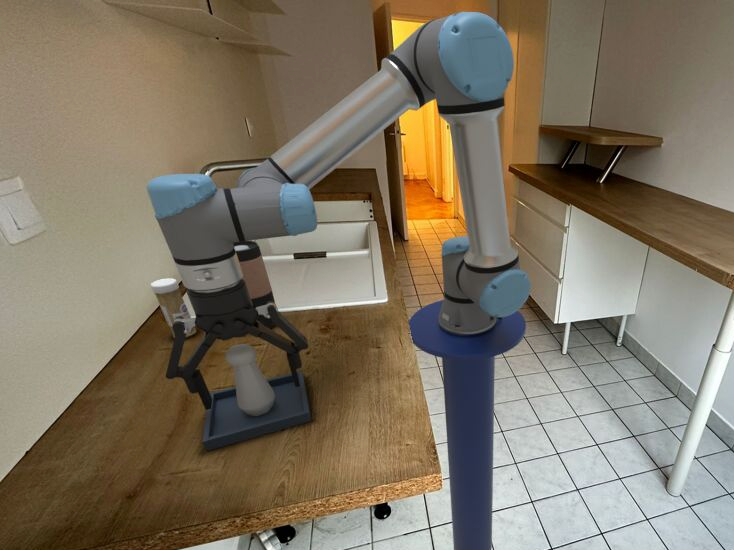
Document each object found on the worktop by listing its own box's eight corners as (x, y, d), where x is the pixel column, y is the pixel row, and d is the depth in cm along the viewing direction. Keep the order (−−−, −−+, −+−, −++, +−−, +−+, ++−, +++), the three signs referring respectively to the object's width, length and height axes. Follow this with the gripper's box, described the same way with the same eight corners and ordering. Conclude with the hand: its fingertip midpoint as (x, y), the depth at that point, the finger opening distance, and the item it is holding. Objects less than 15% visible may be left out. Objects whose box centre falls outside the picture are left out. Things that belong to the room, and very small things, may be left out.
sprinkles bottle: (194, 337, 95) (172, 284, 88) (170, 340, 94) (146, 287, 87) (199, 328, 99) (178, 276, 92) (176, 331, 97) (153, 278, 90)
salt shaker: (248, 399, 76) (226, 340, 70) (281, 396, 77) (263, 337, 71) (236, 421, 71) (211, 359, 65) (272, 417, 72) (251, 356, 66)
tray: (304, 379, 83) (302, 370, 82) (311, 421, 73) (309, 412, 72) (212, 401, 76) (208, 392, 75) (206, 451, 66) (202, 441, 65)
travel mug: (238, 330, 99) (210, 250, 89) (258, 315, 105) (235, 239, 95) (268, 332, 98) (243, 252, 88) (287, 317, 104) (266, 241, 95)
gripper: (101, 310, 54) (164, 429, 64) (308, 278, 65) (333, 385, 75) (115, 288, 60) (171, 401, 70) (303, 262, 70) (327, 364, 81)
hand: (255, 393), depth 73 cm, fingers open, 13 cm apart
